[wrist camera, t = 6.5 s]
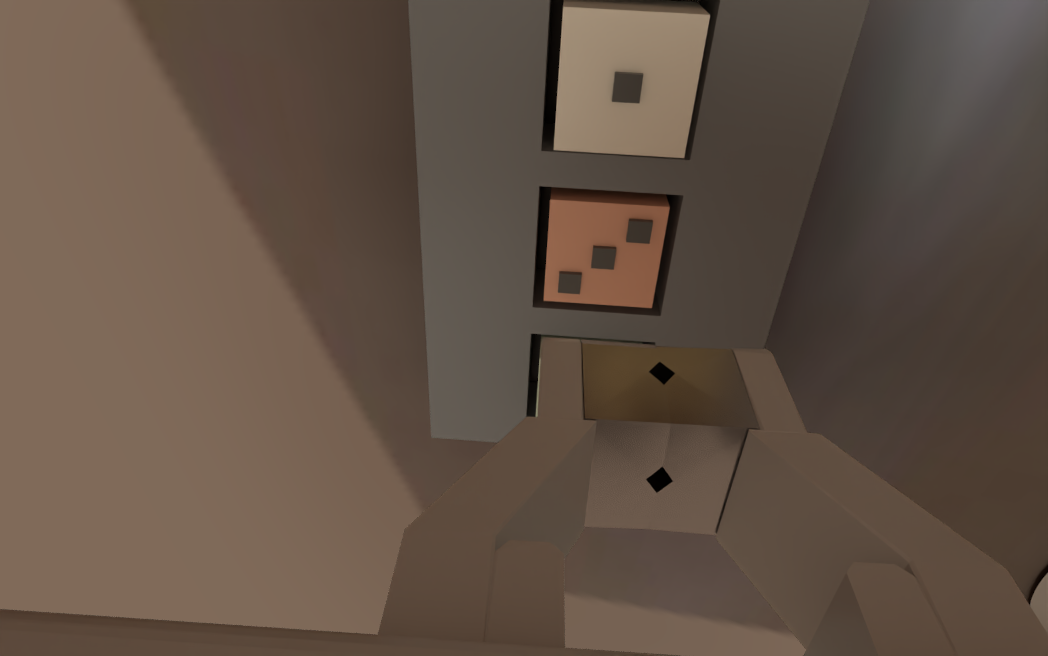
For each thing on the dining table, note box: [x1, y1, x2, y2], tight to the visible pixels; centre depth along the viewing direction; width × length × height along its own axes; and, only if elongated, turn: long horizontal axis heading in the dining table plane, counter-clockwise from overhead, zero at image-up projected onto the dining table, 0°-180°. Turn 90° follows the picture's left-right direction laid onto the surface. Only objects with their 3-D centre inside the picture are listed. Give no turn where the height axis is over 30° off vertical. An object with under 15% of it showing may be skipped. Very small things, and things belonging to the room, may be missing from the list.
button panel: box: [408, 0, 870, 443], centre depth 24 cm, size 13×19×3 cm
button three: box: [544, 187, 670, 308], centre depth 24 cm, size 4×4×3 cm
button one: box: [554, 0, 710, 158], centre depth 20 cm, size 4×4×3 cm
